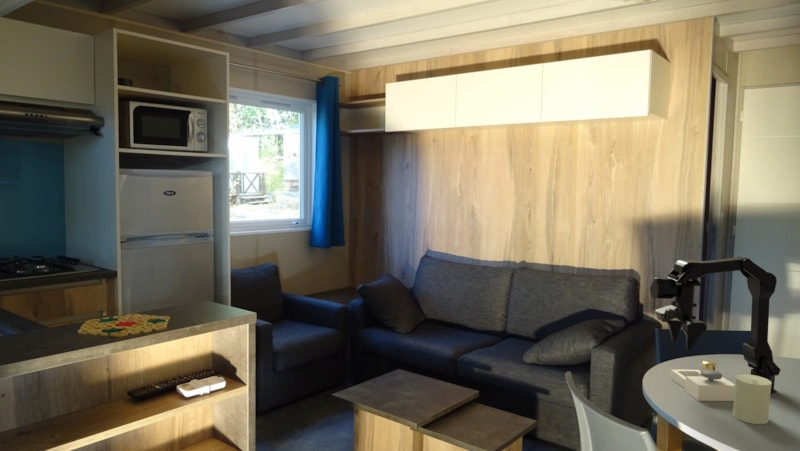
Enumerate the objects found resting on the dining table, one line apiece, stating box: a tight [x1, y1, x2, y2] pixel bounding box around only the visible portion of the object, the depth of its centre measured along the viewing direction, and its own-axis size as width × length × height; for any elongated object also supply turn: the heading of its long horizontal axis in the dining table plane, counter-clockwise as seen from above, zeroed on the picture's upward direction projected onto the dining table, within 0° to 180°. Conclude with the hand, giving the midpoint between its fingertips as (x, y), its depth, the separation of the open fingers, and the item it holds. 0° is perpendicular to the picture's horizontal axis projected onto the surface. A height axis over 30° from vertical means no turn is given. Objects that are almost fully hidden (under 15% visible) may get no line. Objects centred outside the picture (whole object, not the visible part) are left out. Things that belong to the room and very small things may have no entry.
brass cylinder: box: [700, 359, 717, 371], centre depth 202 cm, size 4×4×6 cm
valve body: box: [669, 369, 735, 402], centre depth 193 cm, size 12×20×8 cm, turn 2°
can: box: [731, 373, 772, 425], centre depth 171 cm, size 9×9×12 cm
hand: (681, 345), depth 192 cm, fingers open, 9 cm apart
